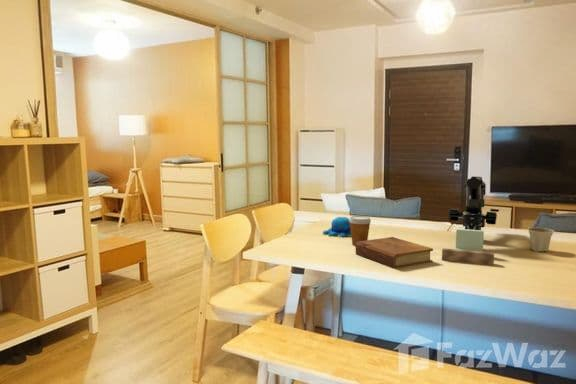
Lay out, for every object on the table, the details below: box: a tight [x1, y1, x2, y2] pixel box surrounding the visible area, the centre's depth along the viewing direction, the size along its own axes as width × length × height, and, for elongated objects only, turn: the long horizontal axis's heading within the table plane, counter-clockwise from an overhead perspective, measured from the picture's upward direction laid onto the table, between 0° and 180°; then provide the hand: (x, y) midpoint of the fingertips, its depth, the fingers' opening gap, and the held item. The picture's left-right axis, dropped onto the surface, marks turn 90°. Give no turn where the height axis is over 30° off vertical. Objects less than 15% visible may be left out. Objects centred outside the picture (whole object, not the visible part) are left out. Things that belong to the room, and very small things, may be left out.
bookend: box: [455, 228, 485, 252], centre depth 178 cm, size 12×10×10 cm
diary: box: [355, 236, 434, 269], centre depth 178 cm, size 23×19×6 cm
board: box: [441, 247, 495, 266], centre depth 172 cm, size 18×2×4 cm, turn 66°
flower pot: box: [527, 227, 555, 252], centre depth 188 cm, size 9×9×9 cm
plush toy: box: [322, 216, 351, 239], centre depth 223 cm, size 17×17×8 cm
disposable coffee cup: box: [349, 215, 372, 247], centre depth 200 cm, size 10×10×12 cm
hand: (470, 233), depth 191 cm, fingers closed
